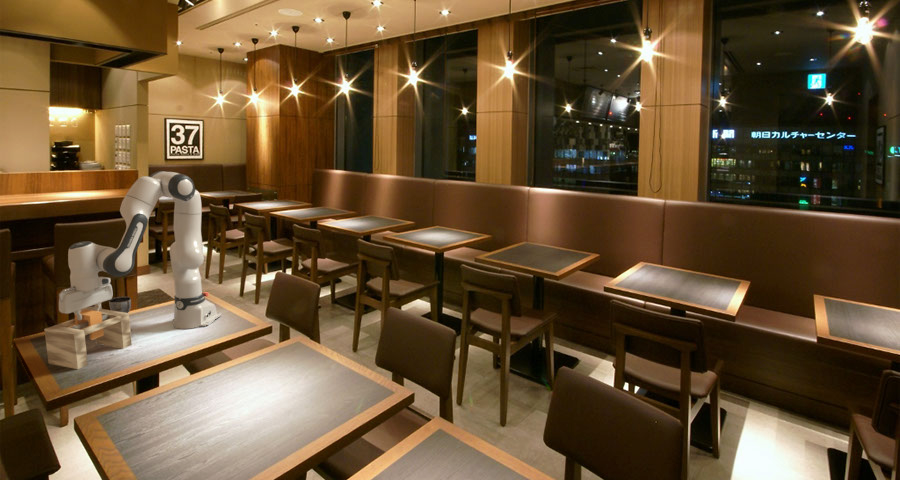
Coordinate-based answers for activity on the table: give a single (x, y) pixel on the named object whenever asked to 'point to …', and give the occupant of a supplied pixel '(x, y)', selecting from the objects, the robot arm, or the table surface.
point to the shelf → (70, 342)
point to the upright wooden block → (91, 321)
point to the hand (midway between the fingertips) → (88, 317)
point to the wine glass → (120, 304)
